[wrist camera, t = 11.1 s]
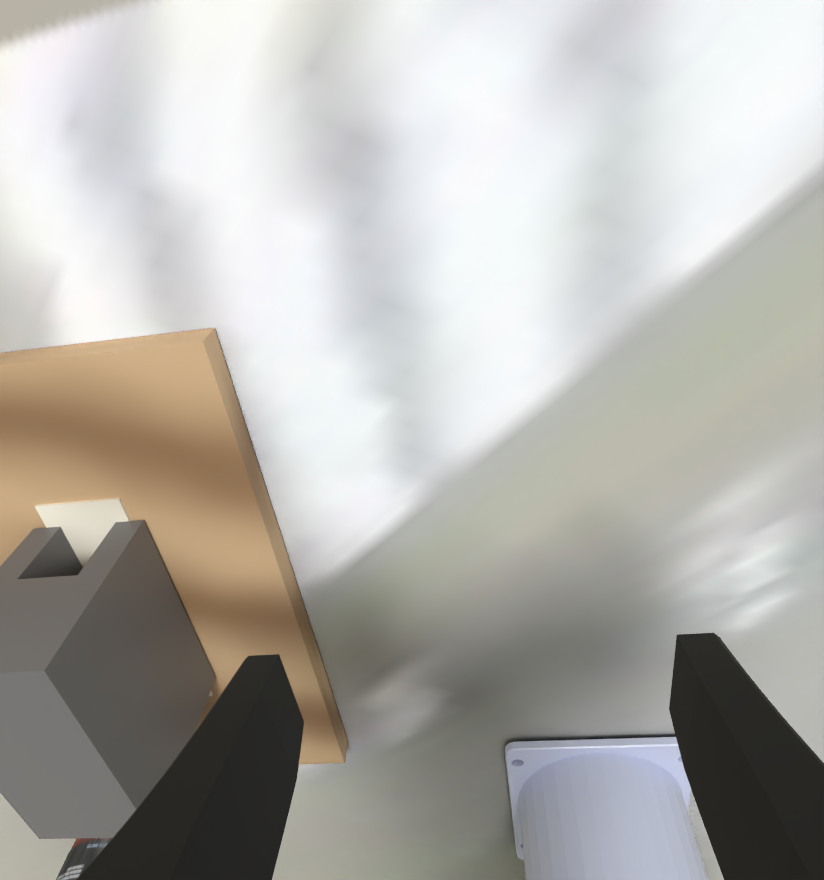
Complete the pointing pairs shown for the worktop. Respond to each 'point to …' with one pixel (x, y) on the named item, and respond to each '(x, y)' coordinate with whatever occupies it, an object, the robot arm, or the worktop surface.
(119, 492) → the pin board
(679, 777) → the robot arm
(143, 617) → the block
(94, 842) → the supplement bottle
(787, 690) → the worktop surface
